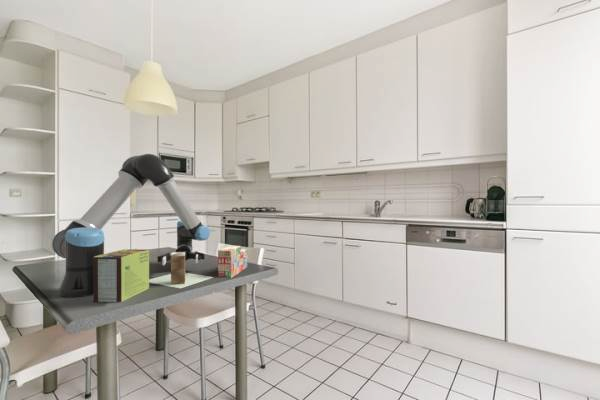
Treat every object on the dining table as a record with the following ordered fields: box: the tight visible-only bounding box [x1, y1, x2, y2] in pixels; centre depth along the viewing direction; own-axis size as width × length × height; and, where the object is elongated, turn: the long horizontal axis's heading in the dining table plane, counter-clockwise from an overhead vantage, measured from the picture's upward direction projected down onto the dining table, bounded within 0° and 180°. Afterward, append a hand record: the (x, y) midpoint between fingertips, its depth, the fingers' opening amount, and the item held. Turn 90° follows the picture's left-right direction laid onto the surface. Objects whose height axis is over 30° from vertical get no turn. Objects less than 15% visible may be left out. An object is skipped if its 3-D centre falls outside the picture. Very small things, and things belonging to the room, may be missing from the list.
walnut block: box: [170, 252, 186, 285], centre depth 119 cm, size 5×5×12 cm
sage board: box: [149, 272, 215, 289], centre depth 125 cm, size 22×18×1 cm
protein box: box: [92, 248, 150, 304], centre depth 105 cm, size 10×15×16 cm
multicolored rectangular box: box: [217, 245, 249, 279], centre depth 140 cm, size 21×6×12 cm, turn 171°
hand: (180, 261), depth 128 cm, fingers open, 13 cm apart
